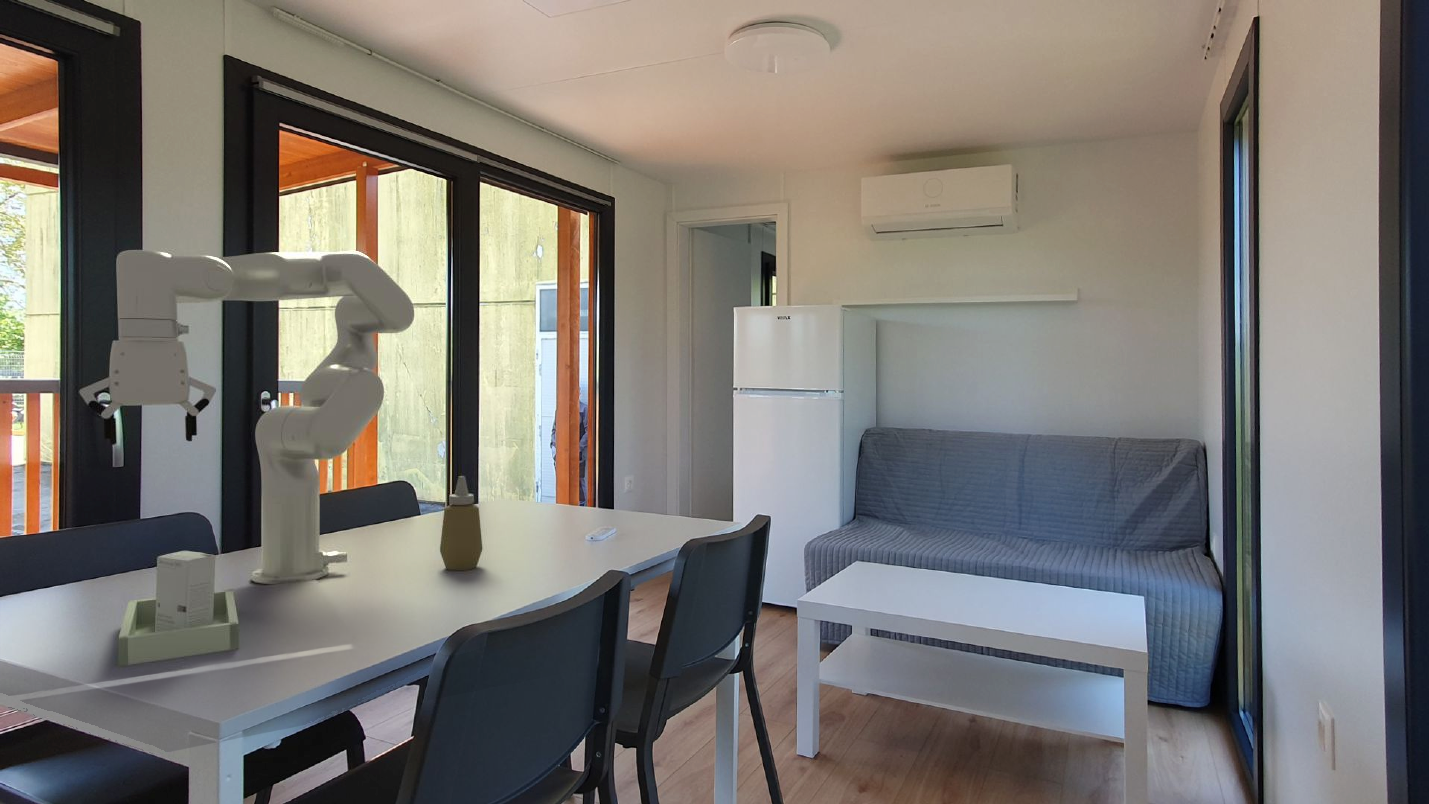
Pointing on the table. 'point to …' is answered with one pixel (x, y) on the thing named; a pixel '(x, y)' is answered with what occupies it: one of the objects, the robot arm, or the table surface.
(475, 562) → the squeeze bottle
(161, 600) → the skincare box
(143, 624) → the tote
